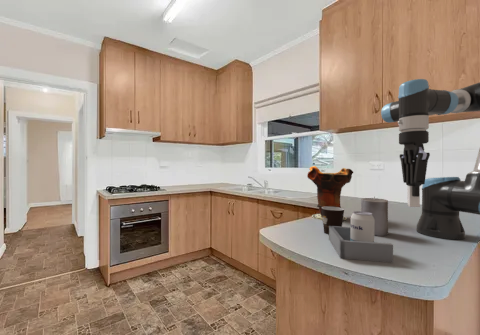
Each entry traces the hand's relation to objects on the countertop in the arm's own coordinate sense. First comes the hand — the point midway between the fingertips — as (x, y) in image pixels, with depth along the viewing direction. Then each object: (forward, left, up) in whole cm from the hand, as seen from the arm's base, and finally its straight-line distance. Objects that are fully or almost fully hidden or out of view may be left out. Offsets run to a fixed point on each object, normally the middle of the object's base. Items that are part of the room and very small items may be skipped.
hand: (413, 206), depth 74 cm
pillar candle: (+4, -23, -15) cm, 27 cm away
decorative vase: (+17, -50, -15) cm, 54 cm away
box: (+17, 0, -15) cm, 22 cm away
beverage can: (+15, 0, -15) cm, 21 cm away
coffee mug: (+21, -20, -15) cm, 32 cm away
